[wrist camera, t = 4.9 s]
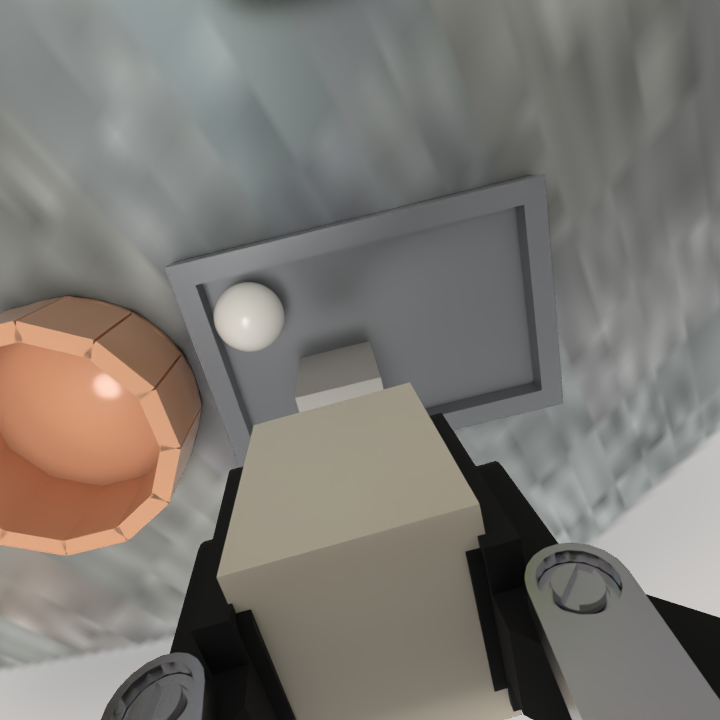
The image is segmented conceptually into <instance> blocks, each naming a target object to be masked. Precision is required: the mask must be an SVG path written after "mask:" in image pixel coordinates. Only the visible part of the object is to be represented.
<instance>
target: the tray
mask: <svg viewBox="0 0 720 720" xmlns="http://www.w3.org/2000/svg"><path fill="white" fill-rule="evenodd" d="M164 269H165V271H166V274H167V277H168V279H169V282H170V285H171V287H172V290H173V293H174V295H175V298H176V300H177V303H178V306H179V308H180V311H181V314H182V316H183V319H184V322H185V324H186V327H187V329H188V332H189V335H190V337H191V340H192V343H193V345H194V348H195V351H196V353H197V356H198V359H199V361H200V364H201V366H202V369H203V372H204V374H205V377H206V380H207V382H208V385H209V388H210V390H211V393H212V395H213V398H214V401H215V403H216V406H217V409H218V411H219V414H220V417H221V419H222V422H223V424H224V427H225V430H226V432H227V435H228V438H229V440H230V443H231V446H232V448H233V451H234V454H235V456H236V459H237V461H238V464H239V467H243V466H244V463H245V459H246V455H247V451H248V447H249V443H250V439H251V434H252V430H253V426H254V425H256V424H260V423H264V422H267V421H271V420H275V419H278V418H282V417H286V416H289V415H293V414H297V413H300V412H299V409H298V406H297V403H296V399H295V394H296V384H297V374H298V364H299V358H302V357H306V356H311V355H315V354H319V353H323V352H327V351H331V350H335V349H339V348H343V347H347V346H352V345H356V344H360V343H364V342H368V341H370V345H371V348H372V351H373V354H374V357H375V360H376V364H377V367H378V370H379V373H380V376H381V380H382V385H383V389H388V388H391V387H395V386H398V385H402V384H406V383H409V382H410V383H411V385H412V387H413V389H414V390H415V392H416V394H417V396H418V397H419V399H420V401H421V403H422V404H423V406H424V408H425V410H426V411H427V413H428V415H429V416H431V415H434V414H438V413H442V414H443V415H444V417H445V419H446V420H447V422H448V423H449V425H450V427H451V428H452V430H454V429H459V428H463V427H467V426H471V425H475V424H479V423H483V422H487V421H492V420H496V419H500V418H504V417H508V416H512V415H516V414H520V413H525V412H529V411H533V410H537V409H541V408H545V407H549V406H553V405H557V404H562V403H563V394H562V382H561V369H560V357H559V344H558V332H557V319H556V307H555V294H554V282H553V269H552V257H551V244H550V232H549V219H548V207H547V194H546V182H545V175H528V176H523V177H519V178H515V179H511V180H507V181H503V182H499V183H495V184H491V185H487V186H483V187H479V188H475V189H470V190H466V191H462V192H458V193H454V194H450V195H446V196H442V197H438V198H434V199H430V200H426V201H421V202H417V203H413V204H409V205H405V206H401V207H397V208H393V209H389V210H385V211H381V212H377V213H373V214H368V215H364V216H360V217H356V218H352V219H348V220H344V221H340V222H336V223H332V224H328V225H324V226H319V227H315V228H311V229H307V230H303V231H299V232H295V233H291V234H287V235H283V236H279V237H275V238H271V239H266V240H262V241H258V242H254V243H250V244H246V245H242V246H238V247H234V248H230V249H226V250H222V251H217V252H213V253H209V254H205V255H201V256H197V257H193V258H189V259H185V260H181V261H177V262H173V263H172V264H170V265H168V266H167V267H165V268H164ZM243 282H254V283H258V284H261V285H264V286H266V287H267V288H269V289H270V290H272V291H273V292H274V293H275V294H276V295H277V297H278V298H279V299H280V301H281V303H282V306H283V309H284V315H285V320H284V326H283V329H282V332H281V334H280V336H279V337H278V338H277V340H276V341H275V342H274V343H272V344H271V345H270V346H268V347H267V348H265V349H262V350H259V351H254V352H246V351H240V350H237V349H235V348H233V347H231V346H229V345H228V344H227V343H225V342H224V341H223V340H222V338H221V337H220V336H219V334H218V332H217V330H216V328H215V324H214V308H215V305H216V302H217V300H218V299H219V297H220V296H221V294H222V293H223V292H224V291H225V290H227V289H228V288H230V287H231V286H233V285H235V284H238V283H243Z"/></svg>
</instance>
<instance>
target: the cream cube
mask: <svg viewBox="0 0 720 720" xmlns="http://www.w3.org/2000/svg"><path fill="white" fill-rule="evenodd" d="M483 534H485V529H484V524H483V519H482V514H481V509H480V504H479V502H478V500H477V499H476V497H475V495H474V493H473V492H472V490H471V488H470V487H469V485H468V483H467V481H466V480H465V478H464V476H463V474H462V473H461V471H460V469H459V467H458V466H457V464H456V462H455V460H454V459H453V457H452V455H451V453H450V452H449V450H448V448H447V446H446V445H445V443H444V441H443V439H442V438H441V436H440V434H439V432H438V431H437V429H436V427H435V425H434V424H433V422H432V420H431V418H430V417H429V415H428V413H427V411H426V410H425V408H424V406H423V404H422V403H421V401H420V399H419V397H418V396H417V394H416V392H415V390H414V389H413V387H412V385H411V383H410V382H409V383H406V384H402V385H398V386H395V387H391V388H388V389H384V390H380V391H377V392H373V393H369V394H366V395H362V396H358V397H355V398H351V399H347V400H344V401H340V402H337V403H333V404H329V405H326V406H322V407H318V408H315V409H311V410H307V411H304V412H300V413H297V414H293V415H289V416H286V417H282V418H278V419H275V420H271V421H267V422H264V423H260V424H256V425H254V426H253V430H252V434H251V439H250V443H249V447H248V451H247V455H246V459H245V463H244V467H243V471H242V475H241V479H240V483H239V488H238V492H237V496H236V500H235V504H234V508H233V512H232V516H231V520H230V524H229V528H228V532H227V537H226V541H225V545H224V549H223V553H222V557H221V561H220V565H219V569H218V573H217V577H216V578H217V580H218V582H219V584H220V587H221V589H222V591H223V593H224V596H225V598H226V600H227V603H228V604H231V603H232V604H233V607H234V609H235V613H238V612H242V611H246V610H250V609H251V610H252V613H253V615H254V618H255V620H256V623H257V625H258V627H259V630H260V632H261V635H262V637H263V640H264V642H265V645H266V647H267V649H268V652H269V654H270V657H271V659H272V662H273V664H274V667H275V669H276V672H277V674H278V676H279V679H280V681H281V684H282V686H283V689H284V691H285V694H286V696H287V698H288V701H289V703H290V706H291V708H292V711H293V713H294V716H295V718H296V720H504V719H508V718H512V717H515V716H518V715H521V714H522V713H521V710H518V711H515V712H514V711H513V709H512V706H511V704H510V700H509V695H508V688H507V689H503V690H500V691H496V692H494V687H493V682H492V677H491V673H490V668H489V663H488V658H487V654H486V649H485V644H484V639H483V634H482V630H481V625H480V620H479V615H478V611H477V606H476V601H475V596H474V592H473V587H472V582H471V577H470V572H469V568H468V563H467V558H466V553H465V552H466V551H469V550H473V549H477V548H480V547H479V542H478V537H477V536H479V535H483Z"/></svg>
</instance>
